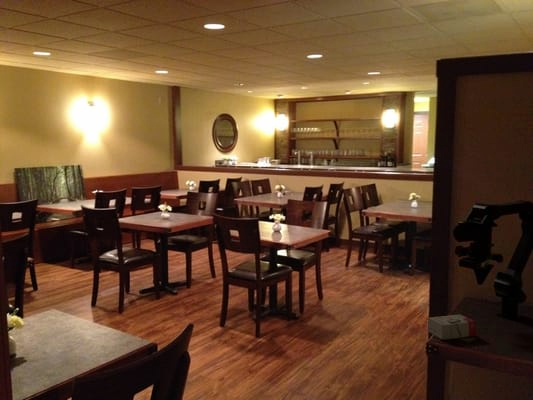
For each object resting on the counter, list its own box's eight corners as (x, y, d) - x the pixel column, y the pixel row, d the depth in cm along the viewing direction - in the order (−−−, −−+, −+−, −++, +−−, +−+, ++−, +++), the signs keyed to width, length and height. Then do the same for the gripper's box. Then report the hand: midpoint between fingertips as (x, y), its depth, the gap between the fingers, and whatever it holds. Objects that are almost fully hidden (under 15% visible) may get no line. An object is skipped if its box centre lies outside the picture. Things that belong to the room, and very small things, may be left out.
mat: (460, 333, 150) (460, 332, 150) (476, 339, 145) (476, 338, 145) (452, 336, 147) (452, 335, 147) (468, 342, 143) (468, 341, 143)
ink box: (476, 321, 146) (443, 324, 143) (476, 337, 146) (443, 340, 143) (459, 313, 154) (427, 316, 152) (459, 328, 154) (427, 331, 152)
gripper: (474, 233, 170) (472, 275, 172) (445, 239, 159) (443, 283, 161) (505, 238, 161) (502, 282, 163) (476, 244, 150) (474, 291, 152)
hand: (479, 284), depth 160 cm, fingers closed
